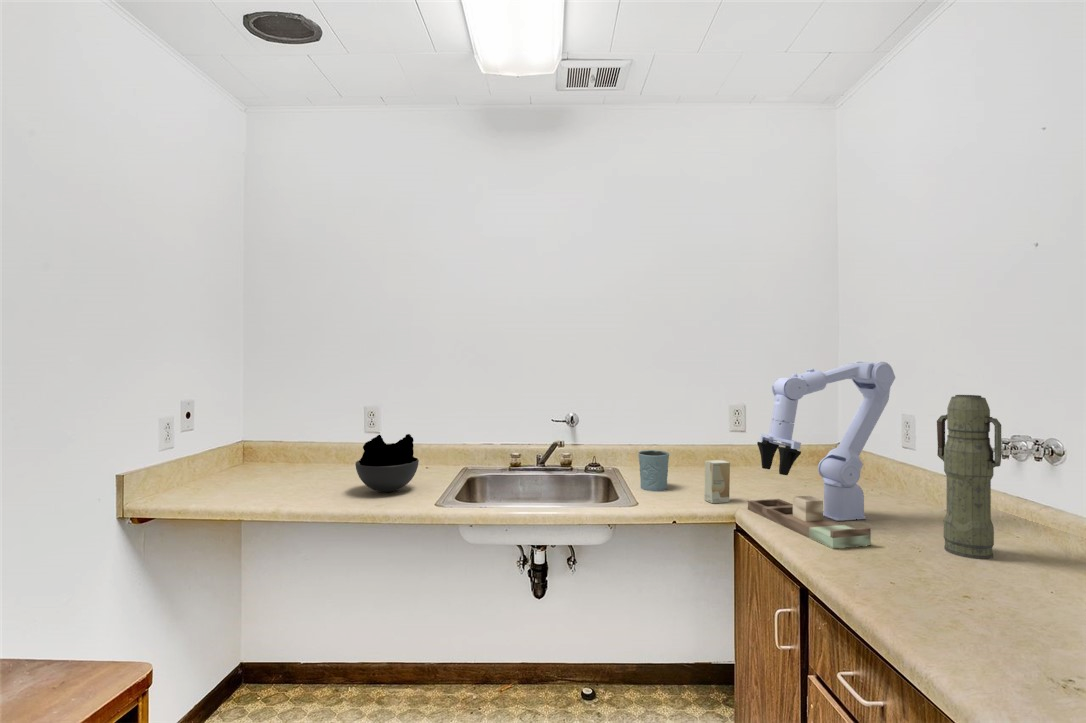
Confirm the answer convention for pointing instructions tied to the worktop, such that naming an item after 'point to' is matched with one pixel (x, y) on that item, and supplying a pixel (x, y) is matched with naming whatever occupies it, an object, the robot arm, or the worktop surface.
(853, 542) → the track
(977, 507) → the thermos
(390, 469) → the bowl of black rocks
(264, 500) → the worktop surface
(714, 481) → the skincare box
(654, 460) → the teal embossed cup
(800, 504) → the maple block
